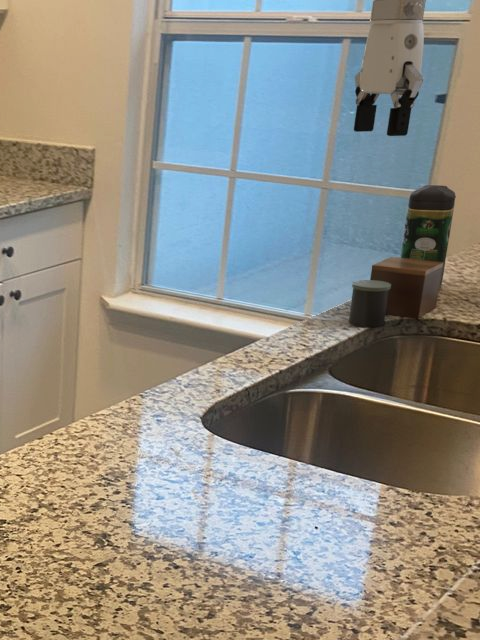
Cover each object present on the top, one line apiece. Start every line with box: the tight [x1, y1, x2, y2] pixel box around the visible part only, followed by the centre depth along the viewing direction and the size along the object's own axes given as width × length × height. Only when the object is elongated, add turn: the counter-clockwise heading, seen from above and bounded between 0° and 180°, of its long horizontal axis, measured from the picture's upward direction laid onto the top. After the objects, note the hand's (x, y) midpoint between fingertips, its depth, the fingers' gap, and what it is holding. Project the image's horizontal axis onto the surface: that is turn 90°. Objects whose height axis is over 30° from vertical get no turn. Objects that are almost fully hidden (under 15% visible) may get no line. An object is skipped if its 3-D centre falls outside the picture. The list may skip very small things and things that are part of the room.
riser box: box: [369, 256, 444, 319], centre depth 178 cm, size 9×9×8 cm
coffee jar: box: [400, 184, 457, 289], centre depth 191 cm, size 10×8×19 cm
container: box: [348, 279, 391, 328], centre depth 170 cm, size 6×6×7 cm
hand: (379, 133), depth 163 cm, fingers open, 9 cm apart
